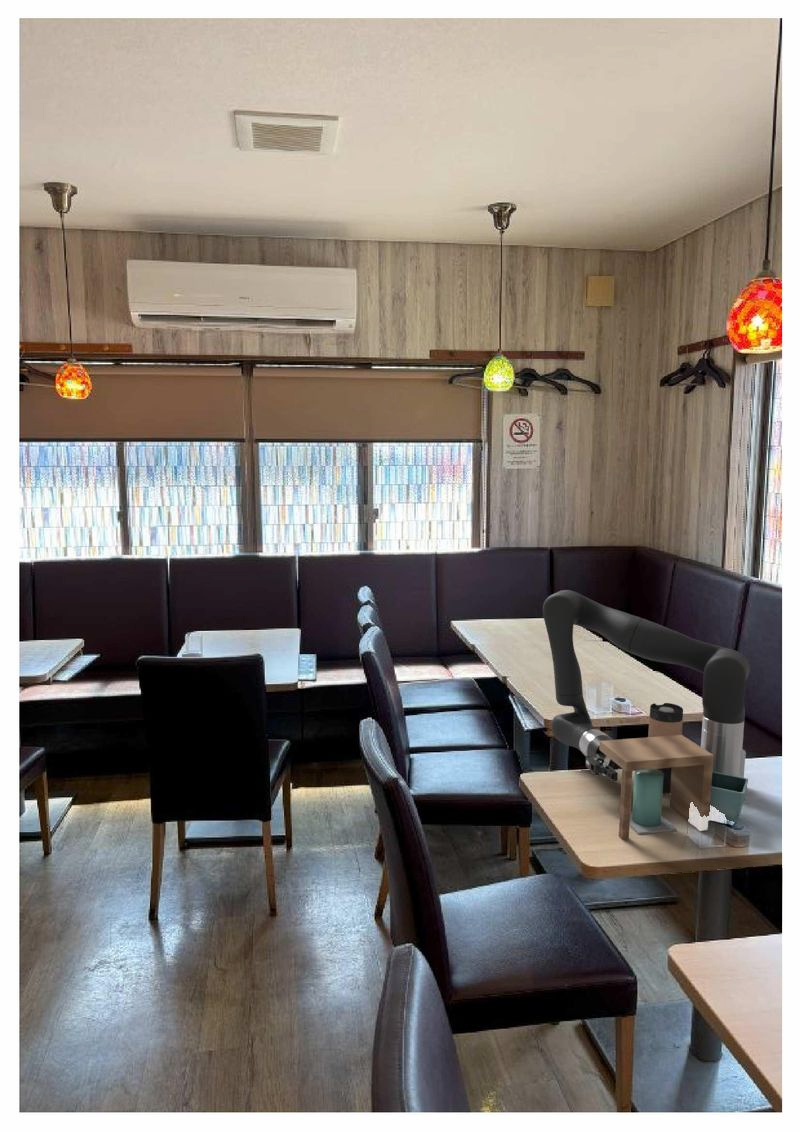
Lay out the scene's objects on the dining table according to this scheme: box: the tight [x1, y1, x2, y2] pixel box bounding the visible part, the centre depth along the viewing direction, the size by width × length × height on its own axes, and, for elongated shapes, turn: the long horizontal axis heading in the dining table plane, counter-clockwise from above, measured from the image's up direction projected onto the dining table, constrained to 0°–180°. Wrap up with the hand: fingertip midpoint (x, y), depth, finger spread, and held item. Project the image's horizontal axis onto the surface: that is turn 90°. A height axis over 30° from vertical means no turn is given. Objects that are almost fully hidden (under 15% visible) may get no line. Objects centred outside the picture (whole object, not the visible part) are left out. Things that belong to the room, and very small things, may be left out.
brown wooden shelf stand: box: [599, 734, 713, 841], centre depth 171 cm, size 20×12×17 cm, turn 102°
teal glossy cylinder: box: [631, 769, 664, 827], centre depth 171 cm, size 6×6×11 cm
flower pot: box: [710, 772, 749, 823], centre depth 173 cm, size 9×9×9 cm
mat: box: [617, 811, 678, 835], centre depth 172 cm, size 9×9×1 cm
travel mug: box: [647, 702, 684, 794], centre depth 188 cm, size 8×8×20 cm
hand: (633, 775), depth 177 cm, fingers open, 8 cm apart
